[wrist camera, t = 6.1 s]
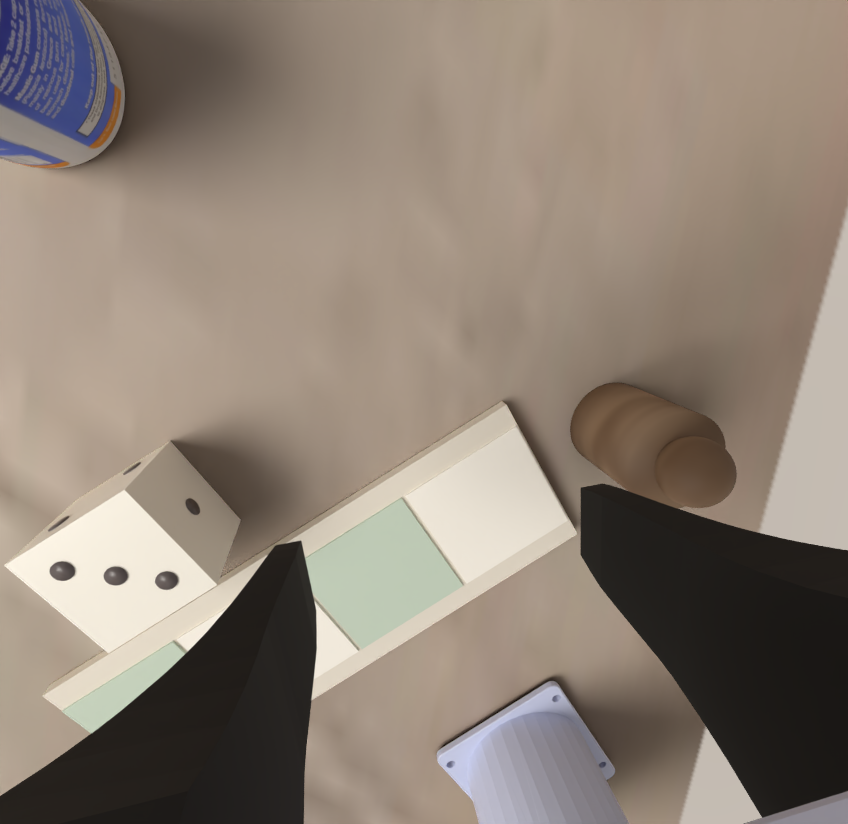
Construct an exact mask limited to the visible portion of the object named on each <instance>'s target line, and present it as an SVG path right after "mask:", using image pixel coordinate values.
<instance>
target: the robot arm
mask: <svg viewBox="0 0 848 824" xmlns="http://www.w3.org/2000/svg"><path fill="white" fill-rule="evenodd" d="M581 556H582V558H583V559H584V561H585V563H586V564H587V566H588V568H589V570H590V571H591V573H592V574H593V576H594V578H595V579H596V581H597V582H598V584H599V585H600V587H601V588H602V590H603V591H604V592H605V593H606V595H607V596H608V597H609V598H610V600H611V601H612V602H613V603H614V605H615V606H616V607H617V608H618V609H619V611H620V612H621V613H622V614H623V616H624V617H625V618H626V619H627V620H628V622H629V623H630V624H631V625H632V626H633V628H634V629H635V630H636V631H637V633H638V634H639V635H640V636H641V637H642V639H643V640H644V641H645V642H646V643H647V645H648V646H649V647H650V648H651V650H652V651H653V652H654V653H655V654H656V656H657V657H658V658H659V659H660V661H661V662H662V663H663V664H664V666H665V667H666V668H667V670H668V671H669V672H670V674H671V675H672V676H673V678H674V679H675V681H676V682H677V684H678V685H679V687H680V688H681V689H682V691H683V692H684V694H685V695H686V697H687V698H688V700H689V701H690V703H691V704H692V706H693V707H694V709H695V710H696V712H697V713H698V715H699V716H700V718H701V719H702V721H703V722H704V724H705V725H706V727H707V729H708V730H709V732H710V733H711V735H712V736H713V738H714V739H715V741H716V742H717V744H718V746H719V747H720V749H721V751H722V752H723V754H724V755H725V757H726V758H727V760H728V762H729V763H730V765H731V766H732V768H733V770H734V771H735V773H736V775H737V776H738V778H739V780H740V781H741V783H742V785H743V786H744V788H745V790H746V791H747V793H748V795H749V796H750V798H751V800H752V801H753V803H754V805H755V806H756V808H757V810H758V811H759V813H760V815H761V816H762V818H760V819H757V820H754V821H751V822H747V823H744V824H848V550H841V549H835V548H829V547H823V546H818V545H813V544H807V543H801V542H796V541H792V540H787V539H782V538H778V537H773V536H769V535H765V534H761V533H757V532H753V531H749V530H745V529H741V528H738V527H734V526H730V525H727V524H724V523H720V522H717V521H714V520H711V519H707V518H704V517H701V516H698V515H695V514H692V513H689V512H686V511H683V510H680V509H677V508H674V507H671V506H668V505H666V504H663V503H660V502H657V501H654V500H652V499H649V498H646V497H643V496H640V495H638V494H635V493H632V492H629V491H626V490H623V489H620V488H617V487H614V486H610V485H606V484H598V485H593V486H587V487H582V488H581ZM316 652H317V623H316V606H315V602H314V597H313V593H312V588H311V583H310V579H309V574H308V569H307V565H306V560H305V555H304V551H303V546H302V541H301V540H300V541H295V542H290V543H285V544H279V545H275V546H274V548H273V549H272V550H271V552H270V553H269V554H268V556H267V557H266V558H265V560H264V561H263V562H262V564H261V565H260V566H259V568H258V569H257V571H256V572H255V573H254V575H253V576H252V577H251V579H250V580H249V581H248V583H247V584H246V585H245V586H244V588H243V589H242V590H241V592H240V593H239V594H238V595H237V597H236V598H235V599H234V601H233V602H232V603H231V604H230V606H229V607H228V608H227V609H226V610H225V611H224V612H223V614H222V615H221V616H220V617H219V618H218V619H217V621H216V622H215V623H214V624H213V625H212V626H211V628H210V629H209V630H208V631H207V632H206V633H205V634H204V635H203V636H202V637H201V639H200V640H199V641H198V642H197V643H196V644H195V645H194V646H193V647H192V648H191V649H190V650H189V651H188V652H187V653H186V654H185V655H184V656H183V657H182V658H180V659H179V660H178V661H177V662H176V663H175V664H174V665H173V666H172V667H171V668H170V669H169V670H168V671H167V672H166V673H165V674H164V675H162V676H161V677H160V678H159V679H158V680H157V681H155V682H154V683H153V684H152V685H151V686H150V687H148V688H147V689H146V690H145V691H144V692H142V693H141V694H140V695H139V696H138V697H137V698H135V699H134V700H133V701H132V702H131V703H130V704H128V705H127V706H126V707H125V708H124V709H122V710H121V711H120V712H119V713H117V714H116V715H115V716H114V717H112V718H111V719H110V720H108V721H107V722H106V723H105V724H103V725H102V726H101V727H99V728H98V729H97V730H95V731H94V732H93V733H91V734H90V735H89V736H87V737H86V738H85V739H83V740H82V741H81V742H79V743H78V744H76V745H75V746H74V747H72V748H71V749H70V750H68V751H67V752H65V753H64V754H63V755H61V756H60V757H58V758H57V759H55V760H54V761H53V762H51V763H50V764H48V765H47V766H45V767H44V768H42V769H41V770H39V771H38V772H36V773H35V774H33V775H32V776H30V777H29V778H27V779H26V780H24V781H22V782H21V783H19V784H18V785H16V786H15V787H13V788H12V789H10V790H9V791H7V792H6V793H4V794H3V795H1V796H0V824H304V772H305V757H306V744H307V735H308V726H309V717H310V708H311V699H312V690H313V681H314V672H315V662H316ZM437 760H438V763H439V764H440V765H441V766H442V767H443V769H444V770H445V771H446V772H447V773H448V774H449V775H450V776H451V777H452V778H453V779H454V781H455V782H456V783H457V784H458V785H459V786H460V787H461V788H462V789H463V790H464V792H465V793H466V794H467V795H468V796H469V797H470V798H471V799H472V800H473V802H474V806H475V810H476V814H477V818H478V822H479V824H629V822H628V820H627V818H626V816H625V815H624V813H623V811H622V809H621V807H620V805H619V803H618V801H617V799H616V798H615V796H614V794H613V792H612V790H611V788H610V786H609V784H608V782H607V781H606V780H608V779H609V778H611V777H612V776H613V775H614V774H615V768H614V766H613V765H612V763H611V762H610V760H609V759H608V757H607V756H606V754H605V753H604V751H603V750H602V748H601V747H600V745H599V744H598V742H597V741H596V739H595V738H594V736H593V735H592V733H591V732H590V730H589V729H588V728H587V726H586V725H585V723H584V722H583V720H582V719H581V717H580V716H579V714H578V713H577V711H576V710H575V708H574V707H573V705H572V704H571V702H570V701H569V699H568V698H567V696H566V695H565V694H564V692H563V691H562V689H561V688H560V686H559V685H558V683H557V682H555V681H549V682H547V683H545V684H543V685H542V686H540V687H539V688H537V689H535V690H534V691H532V692H531V693H529V694H527V695H526V696H524V697H523V698H521V699H519V700H518V701H516V702H515V703H513V704H511V705H510V706H508V707H507V708H505V709H503V710H502V711H500V712H499V713H497V714H495V715H494V716H492V717H491V718H489V719H487V720H486V721H484V722H483V723H481V724H479V725H478V726H476V727H475V728H473V729H471V730H470V731H468V732H467V733H465V734H463V735H462V736H460V737H459V738H457V739H455V740H454V741H452V742H451V743H449V744H447V745H446V746H444V747H443V748H441V749H440V750H439V751H438V752H437Z"/></svg>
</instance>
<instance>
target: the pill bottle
mask: <svg viewBox="0 0 848 824" xmlns="http://www.w3.org/2000/svg"><path fill="white" fill-rule="evenodd" d="M124 104H125V89H124V81H123V76H122V72H121V68H120V64H119V61H118V58H117V56H116V53H115V51H114V48H113V46H112V44H111V42H110V40H109V38H108V37H107V35H106V33H105V32H104V30H103V28H102V27H101V26H100V24H99V23H98V21H97V20H96V19H95V18H94V16H93V15H92V14H91V13H90V11H89V10H88V9H87V8H86V7H85V6H84V5H83V4H82V2H81V1H80V0H0V159H3V160H6V161H9V162H12V163H17V164H21V165H25V166H30V167H37V168H50V169H55V168H66V167H72V166H75V165H79V164H82V163H84V162H87V161H89V160H91V159H92V158H94V157H96V156H97V155H99V154H100V153H101V152H102V151H103V150H105V149H106V148H107V146H108V145H109V144H110V143H111V142H112V140H113V139H114V137H115V136H116V134H117V132H118V129H119V127H120V124H121V121H122V117H123V113H124Z"/></svg>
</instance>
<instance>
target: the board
mask: <svg viewBox="0 0 848 824" xmlns="http://www.w3.org/2000/svg"><path fill="white" fill-rule="evenodd" d="M576 534H577V532H576V530H575V529H574V527H573V525H572V523H571V521H570V519H569V518H568V516H567V514H566V512H565V510H564V508H563V507H562V505H561V503H560V501H559V499H558V498H557V496H556V494H555V492H554V490H553V488H552V487H551V485H550V483H549V481H548V479H547V478H546V476H545V474H544V472H543V470H542V468H541V467H540V465H539V463H538V461H537V459H536V458H535V456H534V454H533V452H532V450H531V448H530V447H529V445H528V443H527V441H526V439H525V438H524V436H523V434H522V432H521V430H520V428H519V427H518V425H517V423H516V421H515V419H514V418H513V416H512V414H511V412H510V410H509V408H508V407H507V405H506V404H505V403H504V402H502V401H501V402H499V403H498V404H496V405H495V406H493V407H491V408H490V409H488V410H487V411H485V412H483V413H482V414H480V415H479V416H477V417H475V418H474V419H472V420H471V421H469V422H468V423H466V424H464V425H463V426H461V427H460V428H458V429H456V430H455V431H453V432H452V433H450V434H448V435H447V436H445V437H444V438H442V439H440V440H439V441H437V442H436V443H434V444H432V445H431V446H429V447H428V448H426V449H425V450H423V451H421V452H420V453H418V454H417V455H415V456H413V457H412V458H410V459H409V460H407V461H405V462H404V463H402V464H401V465H399V466H397V467H396V468H394V469H393V470H391V471H389V472H388V473H386V474H385V475H383V476H381V477H380V478H378V479H377V480H375V481H374V482H372V483H370V484H369V485H367V486H366V487H364V488H362V489H361V490H359V491H358V492H356V493H354V494H353V495H351V496H350V497H348V498H346V499H345V500H343V501H342V502H340V503H338V504H337V505H335V506H334V507H332V508H331V509H329V510H327V511H326V512H324V513H323V514H321V515H319V516H318V517H316V518H315V519H313V520H311V521H310V522H308V523H307V524H305V525H303V526H302V527H300V528H299V529H297V530H295V531H294V532H292V533H291V534H289V535H288V536H286V537H284V538H283V539H281V540H280V541H278V542H276V543H275V544H273V545H272V546H270V547H268V548H267V549H265V550H264V551H262V552H260V553H259V554H257V555H256V556H254V557H252V558H251V559H249V560H248V561H246V562H244V563H243V564H241V565H240V566H238V567H237V568H235V569H233V570H232V571H230V572H229V573H227V574H225V575H224V576H222V577H221V578H220V579H219V582H218V585H216V586H215V587H213V588H212V589H210V590H208V591H207V592H205V593H204V594H202V595H200V596H199V597H197V598H196V599H194V600H193V601H191V602H189V603H188V604H186V605H185V606H183V607H181V608H180V609H178V610H177V611H175V612H173V613H172V614H170V615H169V616H167V617H165V618H164V619H162V620H161V621H159V622H158V623H156V624H154V625H153V626H151V627H150V628H148V629H146V630H145V631H143V632H142V633H140V634H138V635H137V636H135V637H134V638H132V639H130V640H129V641H127V642H126V643H124V644H122V645H121V646H119V647H118V648H116V649H115V650H113V651H111V652H110V653H107V652H106V651H105V650H104V651H103V652H101V653H100V654H98V655H96V656H95V657H93V658H92V659H90V660H88V661H87V662H85V663H84V664H82V665H80V666H79V667H77V668H76V669H74V670H72V671H71V672H69V673H68V674H66V675H64V676H63V677H61V678H60V679H58V680H57V681H55V682H53V683H52V684H50V685H49V687H48V688H47V690H46V691H45V693H44V694H43V697H44V698H46V699H47V700H48V701H50V702H51V703H52V704H54V705H55V706H56V707H58V708H59V709H60V710H62V712H63V713H64V714H66V715H67V716H68V717H70V718H71V719H72V720H74V721H75V722H76V723H78V724H79V725H80V726H82V727H83V728H85V729H86V730H87V731H89V732H90V733H93V732H94V731H95V730H97V729H98V728H99V727H101V726H102V725H103V724H105V723H106V722H107V721H108V720H110V719H111V718H112V717H114V716H115V715H116V714H117V713H119V712H120V711H121V710H122V709H124V708H125V707H126V706H127V705H128V704H130V703H131V702H132V701H133V700H134V699H135V698H137V697H138V696H139V695H140V694H141V693H142V692H144V691H145V690H146V689H147V688H148V687H150V686H151V685H152V684H153V683H154V682H155V681H157V680H158V679H159V678H160V677H161V676H162V675H164V674H165V673H166V672H167V671H168V670H169V669H170V668H171V667H172V666H173V665H174V664H175V663H176V662H177V661H178V660H179V659H180V658H182V657H183V656H184V655H185V654H186V653H187V652H188V651H189V650H190V649H191V648H192V647H193V646H194V645H195V644H196V643H197V642H198V641H199V640H200V639H201V637H202V636H203V635H204V634H205V633H206V632H207V631H208V630H209V629H210V628H211V626H212V625H213V624H214V623H215V622H216V621H217V619H218V618H219V617H220V616H221V615H222V614H223V612H224V611H225V610H226V609H227V608H228V607H229V606H230V604H231V603H232V602H233V601H234V599H235V598H236V597H237V595H238V594H239V593H240V592H241V590H242V589H243V588H244V586H245V585H246V584H247V583H248V581H249V580H250V579H251V577H252V576H253V575H254V573H255V572H256V571H257V569H258V568H259V566H260V565H261V564H262V562H263V561H264V560H265V558H266V557H267V556H268V554H269V553H270V552H271V550H272V549H273V548H274V546H275V545H279V544H285V543H290V542H295V541H300V540H301V541H302V546H303V551H304V555H305V560H306V565H307V569H308V574H309V579H310V583H311V588H312V593H313V597H314V602H315V606H316V623H317V652H316V662H315V672H314V681H313V690H312V699H311V700H313V699H314V698H316V697H318V696H319V695H321V694H322V693H324V692H326V691H327V690H329V689H330V688H332V687H334V686H335V685H337V684H338V683H340V682H342V681H343V680H345V679H346V678H348V677H350V676H351V675H353V674H354V673H356V672H358V671H359V670H361V669H362V668H364V667H366V666H367V665H369V664H370V663H372V662H373V661H375V660H377V659H378V658H380V657H381V656H383V655H385V654H386V653H388V652H389V651H391V650H393V649H394V648H396V647H397V646H399V645H401V644H402V643H404V642H405V641H407V640H409V639H410V638H412V637H413V636H415V635H417V634H418V633H420V632H421V631H423V630H425V629H426V628H428V627H429V626H431V625H433V624H434V623H436V622H437V621H439V620H441V619H442V618H444V617H445V616H447V615H449V614H450V613H452V612H453V611H455V610H457V609H458V608H460V607H461V606H463V605H465V604H466V603H468V602H469V601H471V600H473V599H474V598H476V597H477V596H479V595H481V594H482V593H484V592H485V591H487V590H489V589H490V588H492V587H493V586H495V585H496V584H498V583H500V582H501V581H503V580H504V579H506V578H508V577H509V576H511V575H512V574H514V573H516V572H517V571H519V570H520V569H522V568H524V567H525V566H527V565H528V564H530V563H532V562H533V561H535V560H536V559H538V558H540V557H541V556H543V555H544V554H546V553H548V552H549V551H551V550H552V549H554V548H556V547H557V546H559V545H560V544H562V543H564V542H565V541H567V540H568V539H570V538H572V537H573V536H575V535H576Z"/></svg>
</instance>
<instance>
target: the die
mask: <svg viewBox="0 0 848 824" xmlns="http://www.w3.org/2000/svg"><path fill="white" fill-rule="evenodd" d="M240 521H241V520H240V519H239V517H238V516H237V515H236V514H235V513H234V512H233V511H232V510H231V508H230V507H229V506H228V505H227V504H226V503H225V502H224V501H223V499H222V498H221V497H220V496H219V495H218V494H217V493H216V492H215V490H214V489H213V488H212V487H211V486H210V485H209V484H208V483H207V481H206V480H205V479H204V478H203V477H202V476H201V475H200V474H199V472H198V471H197V470H196V469H195V468H194V467H193V466H192V465H191V463H190V462H189V461H188V460H187V459H186V458H185V457H184V456H183V454H182V453H181V452H180V451H179V450H178V449H177V448H176V447H175V445H174V444H173V443H172V442H171V441H169V442H167V443H166V444H164V445H163V446H161V447H159V448H158V449H156V450H155V451H153V452H151V453H150V454H148V455H147V456H145V457H143V458H142V459H140V460H139V461H137V462H136V463H134V464H132V465H131V466H129V467H128V468H126V469H124V470H123V471H121V472H120V473H118V474H116V475H115V476H113V477H112V478H110V479H109V480H107V481H105V482H104V483H102V484H101V485H99V486H97V487H96V488H94V489H93V490H91V491H89V492H88V493H86V494H85V495H83V496H82V497H80V498H78V499H77V500H75V501H74V502H73V503H72V504H71V505H70V506H69V507H68V508H67V509H66V510H65V511H63V512H62V513H61V514H60V515H59V516H58V517H57V518H56V519H55V520H54V521H52V522H51V523H50V524H49V525H48V526H47V527H46V528H45V529H44V530H43V531H41V532H40V533H39V534H38V535H37V536H36V537H35V538H34V539H33V540H32V541H30V542H29V543H28V544H27V545H26V546H25V547H24V548H23V549H22V550H21V551H19V552H18V553H17V554H16V555H15V556H14V557H13V558H12V559H11V560H10V561H8V562H7V563H6V564H5V565H4V566H5V567H6V568H8V569H9V570H10V571H11V572H12V573H14V574H15V575H16V576H17V577H18V578H20V579H21V580H22V581H23V582H24V583H26V584H27V585H28V586H29V587H30V588H31V589H33V590H34V591H35V592H36V593H37V594H39V595H40V596H41V597H42V598H43V599H45V600H46V601H47V602H48V603H49V604H50V605H52V606H53V607H54V608H55V609H56V610H58V611H59V612H60V613H61V614H62V615H64V616H65V617H66V618H67V619H68V620H69V621H71V622H72V623H73V624H74V625H75V626H77V627H78V628H79V629H80V630H81V631H83V632H84V633H85V634H86V635H87V636H88V637H90V638H91V639H92V640H93V641H94V642H96V643H97V644H98V645H99V646H100V647H102V648H103V649H104V650H105V651H106V652H107V653H110V652H111V651H113V650H115V649H116V648H118V647H119V646H121V645H122V644H124V643H126V642H127V641H129V640H130V639H132V638H134V637H135V636H137V635H138V634H140V633H142V632H143V631H145V630H146V629H148V628H150V627H151V626H153V625H154V624H156V623H158V622H159V621H161V620H162V619H164V618H165V617H167V616H169V615H170V614H172V613H173V612H175V611H177V610H178V609H180V608H181V607H183V606H185V605H186V604H188V603H189V602H191V601H193V600H194V599H196V598H197V597H199V596H200V595H202V594H204V593H205V592H207V591H208V590H210V589H212V588H213V587H215V586H216V585H218V582H219V579H220V576H221V574H222V571H223V568H224V565H225V563H226V560H227V557H228V554H229V552H230V549H231V546H232V543H233V541H234V538H235V535H236V532H237V530H238V527H239V524H240Z"/></svg>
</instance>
